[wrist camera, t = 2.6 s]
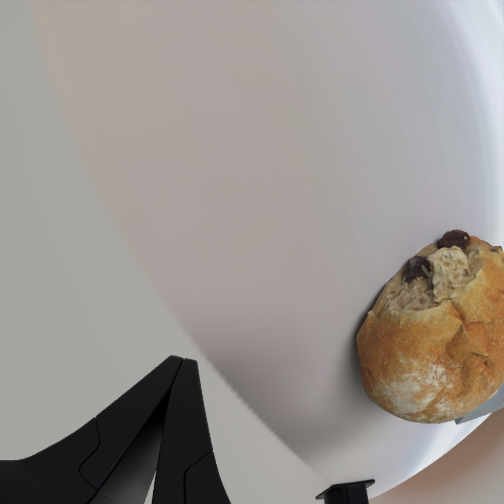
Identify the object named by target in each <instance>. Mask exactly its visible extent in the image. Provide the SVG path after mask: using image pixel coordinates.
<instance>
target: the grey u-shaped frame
mask: <svg viewBox="0 0 504 504" xmlns="http://www.w3.org/2000/svg"><path fill="white" fill-rule="evenodd" d="M503 407H504V383H503V384H502V385H501V387H500V388H499V389H498V391H497V393H496V395H494V396H493V397H492V398H490V399H489V400H487V401H486V402H484V403H483V404H481V405H480V406H479V407H478V408H476V409H474V410H473V411H471V412H470V413H468V414H466V415H465V416H463V417H460V418H457V419H455V422H456V425H457V424H460V423H463V422H467V421H470V420H472V419H475V418H478V417H481V416H483V415H486V414H489V413H491V412H494V411H496V410H498V409H501V408H503Z"/></svg>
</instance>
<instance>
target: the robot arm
mask: <svg viewBox="0 0 504 504" xmlns="http://www.w3.org/2000/svg"><path fill="white" fill-rule="evenodd" d="M155 471H156V476H155V482H154V490H153V497H152V504H231V502H230V500H229V498H228V496H227V494H226V491H225V489H224V486H223V484H222V481H221V478H220V475H219V472H218V468H217V464H216V460H215V456H214V452H213V448H212V443H211V438H210V433H209V428H208V423H207V418H206V412H205V407H204V401H203V395H202V390H201V384H200V377H199V370H198V364H197V361H196V360H192V359H188V358H185V359H183V358H182V357H178V356H174V355H171V356H169V357H168V358H167V359H166V360H164V361H163V362H162V363H161V364H160V365H159V366H157V367H156V368H155V369H154V370H152V371H151V372H150V373H149V374H147V375H146V376H145V377H144V378H143V379H141V380H140V381H139V382H138V383H137V384H135V385H134V386H133V387H132V388H130V389H129V390H128V391H127V392H125V393H124V394H123V395H122V396H121V397H119V398H118V399H117V400H115V401H114V402H113V403H112V404H111V405H109V406H108V407H107V408H106V409H104V410H103V411H102V412H100V413H99V414H98V415H97V416H96V418H95V417H94V418H93V419H91V420H90V421H89V422H88V423H86V424H85V425H83V426H82V427H81V428H79V429H78V430H77V431H75V432H74V433H72V434H70V435H69V436H67V437H66V438H64V439H62V440H61V441H59V442H57V443H55V444H53V445H51V446H49V447H48V448H46V449H44V450H42V451H40V452H38V453H36V454H35V455H32V456H30V457H27V458H24V459H20V460H0V504H144V502H145V499H146V497H147V494H148V491H149V488H150V485H151V483H152V480H153V477H154V474H155ZM374 483H375V480H370V481H364V482H358V483H351V484H343V485H334V486H330V487H329V488H328V489H326V490H325V491H323V492H322V493H320V494H319V495H318V496H316V499H324V502H325V504H369V502H368V496H367V490H366V488H368V487H369V486H371V485H372V484H374Z"/></svg>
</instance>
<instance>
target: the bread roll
mask: <svg viewBox="0 0 504 504" xmlns="http://www.w3.org/2000/svg"><path fill="white" fill-rule="evenodd" d="M356 341H357V347H358V357H359V360H360V362H361V376H362V382H363V386H364V389H365V391H366V393H367V395H368V397H369V398H370V399H371V400H372V401H374V402H375V403H376V404H378V405H379V406H380V407H381V408H383V409H384V410H386V411H387V412H389V413H391V414H393V415H395V416H397V417H399V418H402V419H404V420H407V421H412V422H419V423H429V424H430V423H438V424H439V423H444V422H448V421H452V420H455V419H457V418H460V417H463V416H465V415H466V414H468V413H470V412H471V411H473V410H474V409H476V408H478V407H479V406H480V405H481V404H483V403H484V402H486V401H487V400H489V399H490V398H492V397H493V396H494V395H496V393H497V391H498V389H499V388H500V387H501V385H502V384H503V383H504V253H503V249H502V247H501V246H494V247H493V246H491V245H490V244H489V243H488V242H485V241H482V240H480V239H479V238H477V237H475V236H469V235H468V233H467V232H464V231H461V230H457V229H456V230H452V231H451V232H449V231H447V232H446V233H445V234H444V235H443V237H442V238H441V239H440V240H439V242H438V243H436V244H430V245H428V246H427V247H425V248H423V249H422V250H421V251H420V252H419V253H418V254H417V255H415V256H414V257H412V258H411V259H409V260H408V262H407V263H406V265H405V266H404V268H403V269H402V270H401V271H399V272H398V273H397V274H396V275H395V276H394V277H393V278H392V279H391V280H390V281H389V282H388V283H387V284H386V285H385V287H384V289H383V291H382V292H381V294H380V296H379V297H378V299H377V301H376V303H375V305H374V307H373V308H372V310H371V311H369V312H368V313H367V318H366V319H365V321H364V323H363V325H362V326H361V328H360V330H359V332H358V334H357V337H356Z"/></svg>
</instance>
